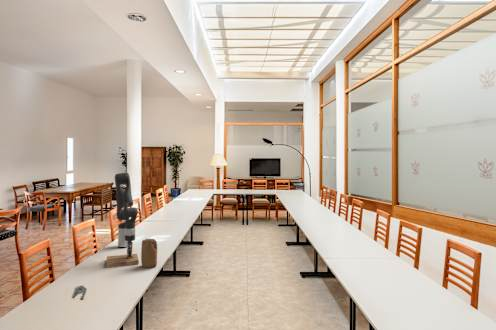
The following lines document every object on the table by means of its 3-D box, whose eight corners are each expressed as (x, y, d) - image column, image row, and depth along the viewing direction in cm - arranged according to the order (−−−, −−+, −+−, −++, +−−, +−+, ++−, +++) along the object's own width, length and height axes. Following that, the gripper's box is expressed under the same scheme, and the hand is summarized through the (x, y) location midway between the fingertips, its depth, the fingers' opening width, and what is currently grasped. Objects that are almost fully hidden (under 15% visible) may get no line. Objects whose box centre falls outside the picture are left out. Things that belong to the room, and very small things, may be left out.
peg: (126, 261, 244) (126, 248, 244) (131, 260, 245) (132, 247, 245) (126, 262, 240) (127, 249, 240) (132, 262, 242) (132, 249, 242)
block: (140, 267, 230) (140, 240, 229) (144, 264, 237) (144, 237, 237) (154, 268, 229) (155, 240, 229) (158, 265, 237) (158, 238, 236)
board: (106, 260, 245) (106, 256, 245) (136, 257, 253) (137, 253, 253) (106, 267, 228) (106, 263, 228) (138, 264, 237) (138, 260, 237)
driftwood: (76, 287, 194) (76, 284, 194) (88, 286, 196) (88, 283, 196) (69, 302, 175) (70, 298, 175) (83, 301, 177) (83, 297, 177)
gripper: (124, 232, 248) (124, 253, 248) (125, 236, 234) (124, 259, 235) (134, 231, 250) (134, 253, 251) (135, 235, 237) (135, 258, 238)
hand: (129, 256), depth 243 cm, fingers open, 4 cm apart
